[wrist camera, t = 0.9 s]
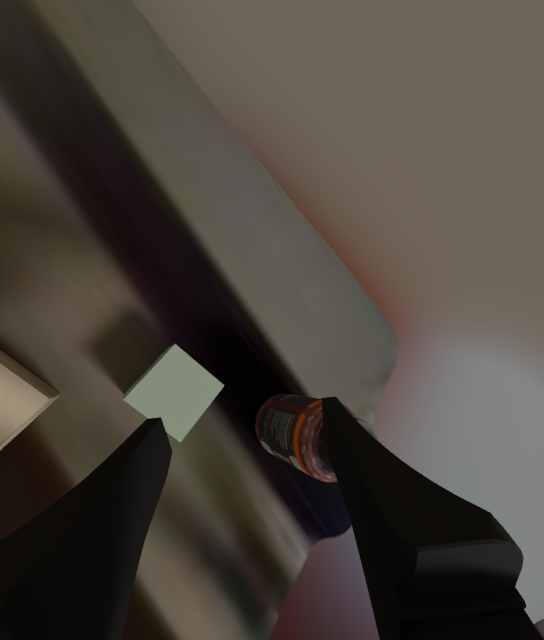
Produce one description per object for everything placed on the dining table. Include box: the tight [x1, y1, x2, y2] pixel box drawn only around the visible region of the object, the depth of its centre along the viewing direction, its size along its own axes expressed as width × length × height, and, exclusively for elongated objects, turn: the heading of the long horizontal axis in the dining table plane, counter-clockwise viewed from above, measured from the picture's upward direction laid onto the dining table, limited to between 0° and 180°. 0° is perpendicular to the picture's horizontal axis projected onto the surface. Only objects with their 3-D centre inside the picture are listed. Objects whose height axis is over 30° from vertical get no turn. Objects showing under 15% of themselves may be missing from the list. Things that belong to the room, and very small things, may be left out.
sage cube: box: [123, 344, 224, 442], centre depth 23 cm, size 5×5×5 cm
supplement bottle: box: [255, 394, 378, 482], centre depth 24 cm, size 6×6×11 cm
